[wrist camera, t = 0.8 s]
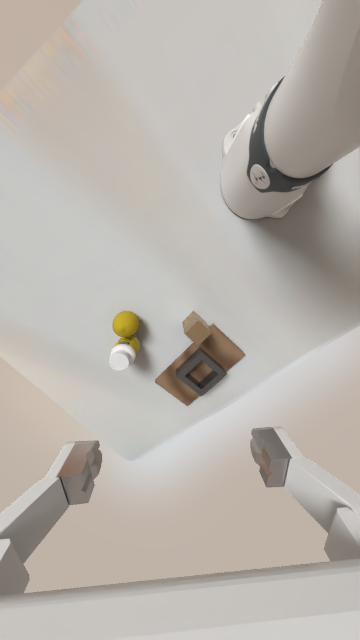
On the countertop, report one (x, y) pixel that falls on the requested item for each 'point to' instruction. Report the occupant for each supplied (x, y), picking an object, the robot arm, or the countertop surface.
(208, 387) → the collar
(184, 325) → the square bar
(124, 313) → the lemon
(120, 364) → the supplement bottle
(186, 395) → the dock board
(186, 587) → the robot arm
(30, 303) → the countertop surface
